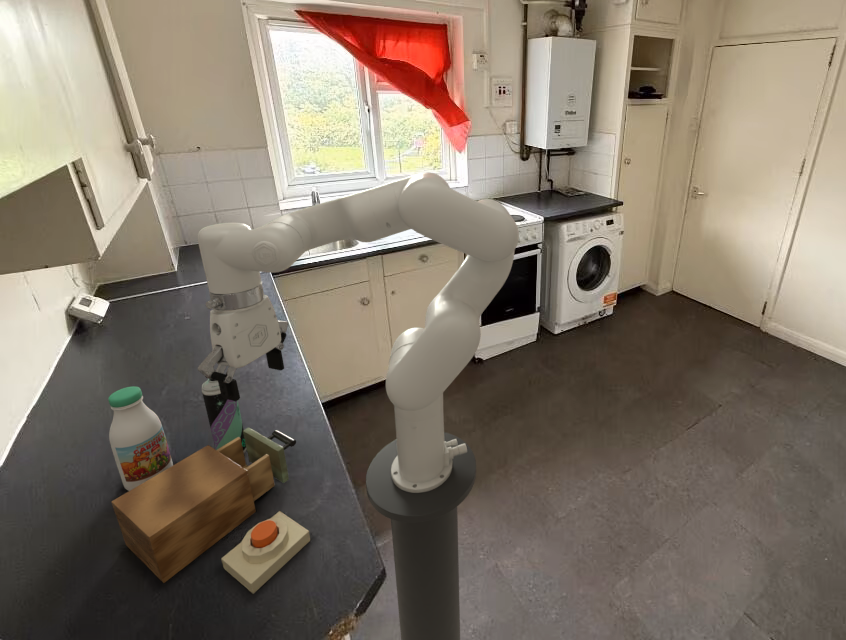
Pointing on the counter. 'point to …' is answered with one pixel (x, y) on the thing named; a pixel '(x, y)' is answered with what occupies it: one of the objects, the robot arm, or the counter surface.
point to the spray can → (222, 415)
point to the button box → (265, 553)
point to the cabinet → (184, 510)
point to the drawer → (260, 459)
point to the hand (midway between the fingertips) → (255, 382)
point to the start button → (264, 534)
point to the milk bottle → (137, 438)
